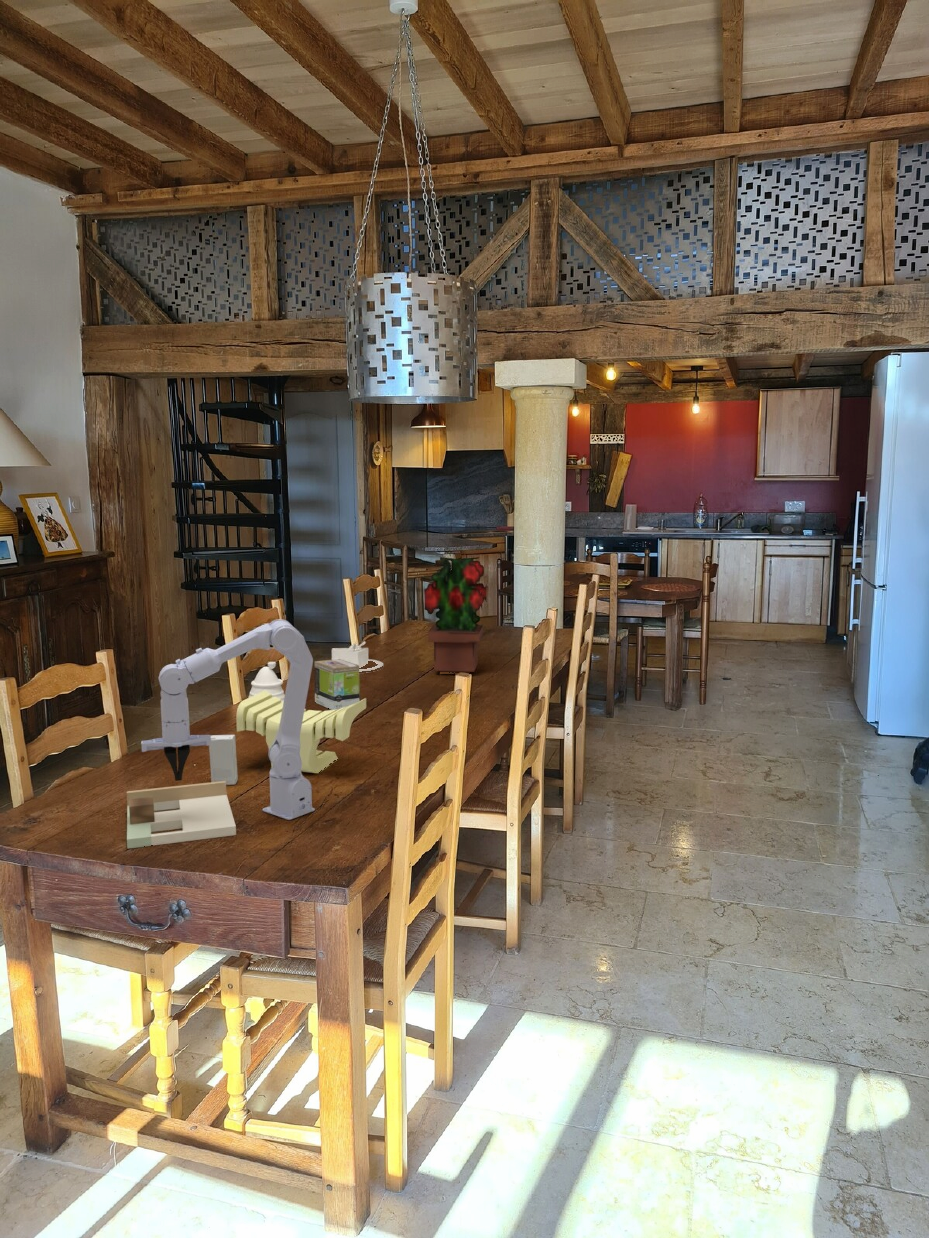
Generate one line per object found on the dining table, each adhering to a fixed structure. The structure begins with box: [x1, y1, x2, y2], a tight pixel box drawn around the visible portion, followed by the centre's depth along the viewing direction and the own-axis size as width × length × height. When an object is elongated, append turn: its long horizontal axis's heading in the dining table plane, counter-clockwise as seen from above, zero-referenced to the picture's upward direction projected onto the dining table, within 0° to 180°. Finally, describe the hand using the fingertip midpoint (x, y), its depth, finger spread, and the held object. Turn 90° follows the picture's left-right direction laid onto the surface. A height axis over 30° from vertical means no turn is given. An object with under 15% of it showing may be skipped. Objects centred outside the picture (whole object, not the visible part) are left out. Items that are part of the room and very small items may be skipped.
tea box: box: [313, 659, 361, 710], centre depth 306 cm, size 15×10×15 cm
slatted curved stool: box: [235, 690, 367, 774], centre depth 241 cm, size 30×16×18 cm, turn 74°
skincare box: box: [208, 734, 239, 786], centre depth 228 cm, size 6×4×12 cm
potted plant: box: [423, 556, 488, 674], centre depth 357 cm, size 22×22×45 cm
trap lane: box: [126, 781, 237, 850], centre depth 202 cm, size 22×22×5 cm
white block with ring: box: [331, 640, 384, 672], centre depth 368 cm, size 25×25×11 cm
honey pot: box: [248, 661, 285, 703], centre depth 290 cm, size 13×13×18 cm
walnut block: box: [129, 797, 155, 825], centre depth 199 cm, size 5×5×4 cm
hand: (178, 779), depth 200 cm, fingers closed
